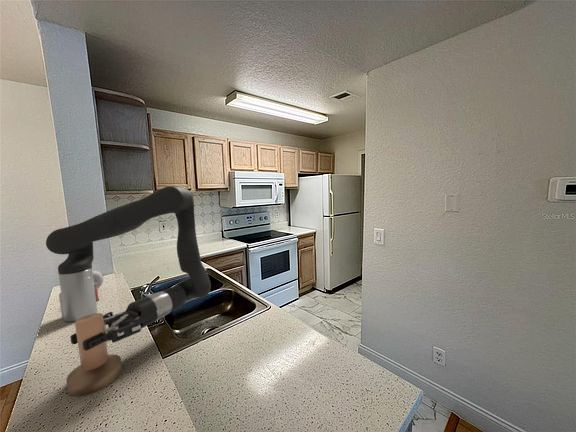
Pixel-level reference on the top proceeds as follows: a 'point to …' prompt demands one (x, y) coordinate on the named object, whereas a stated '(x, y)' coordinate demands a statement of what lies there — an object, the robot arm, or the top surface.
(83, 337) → the tan rounded post
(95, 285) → the lighter
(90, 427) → the top surface
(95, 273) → the donut
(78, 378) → the brown disc
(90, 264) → the robot arm
